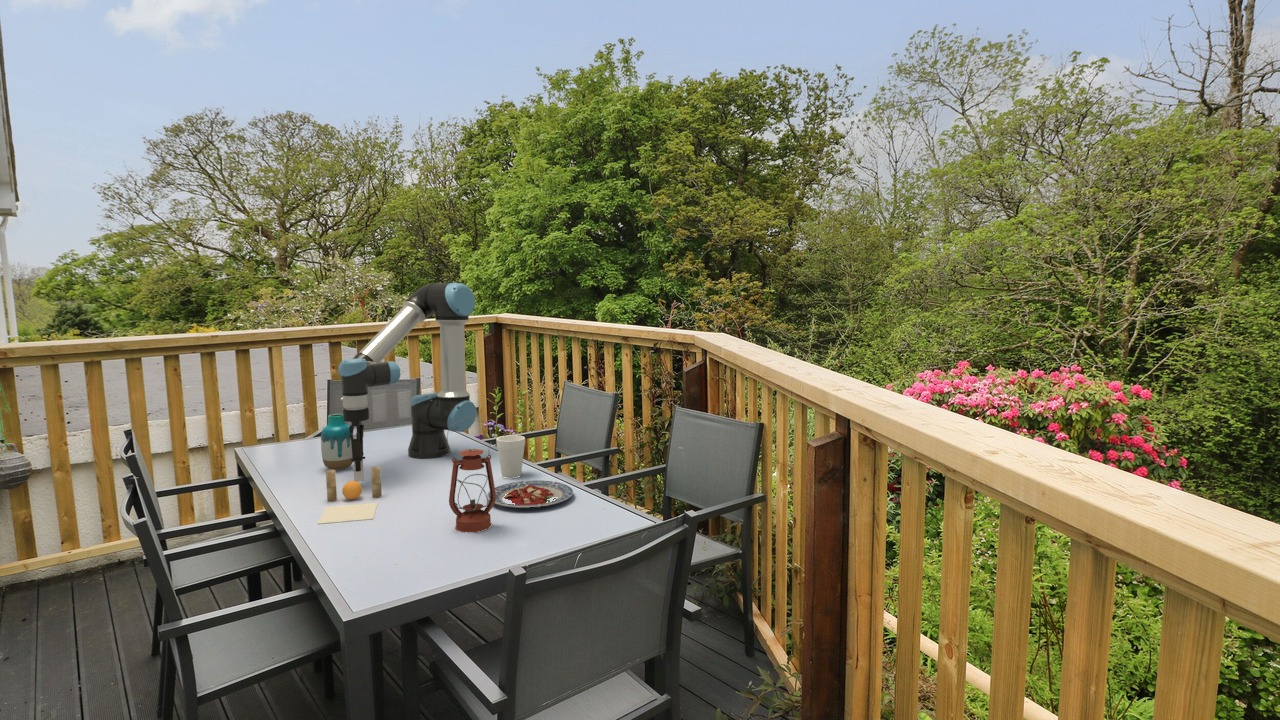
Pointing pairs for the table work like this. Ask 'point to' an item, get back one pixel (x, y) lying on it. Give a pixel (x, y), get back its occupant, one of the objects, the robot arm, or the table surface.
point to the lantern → (473, 515)
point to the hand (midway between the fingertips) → (359, 480)
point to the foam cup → (511, 454)
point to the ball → (352, 490)
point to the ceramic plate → (531, 493)
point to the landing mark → (348, 513)
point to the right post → (376, 482)
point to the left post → (331, 485)
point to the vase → (336, 443)
